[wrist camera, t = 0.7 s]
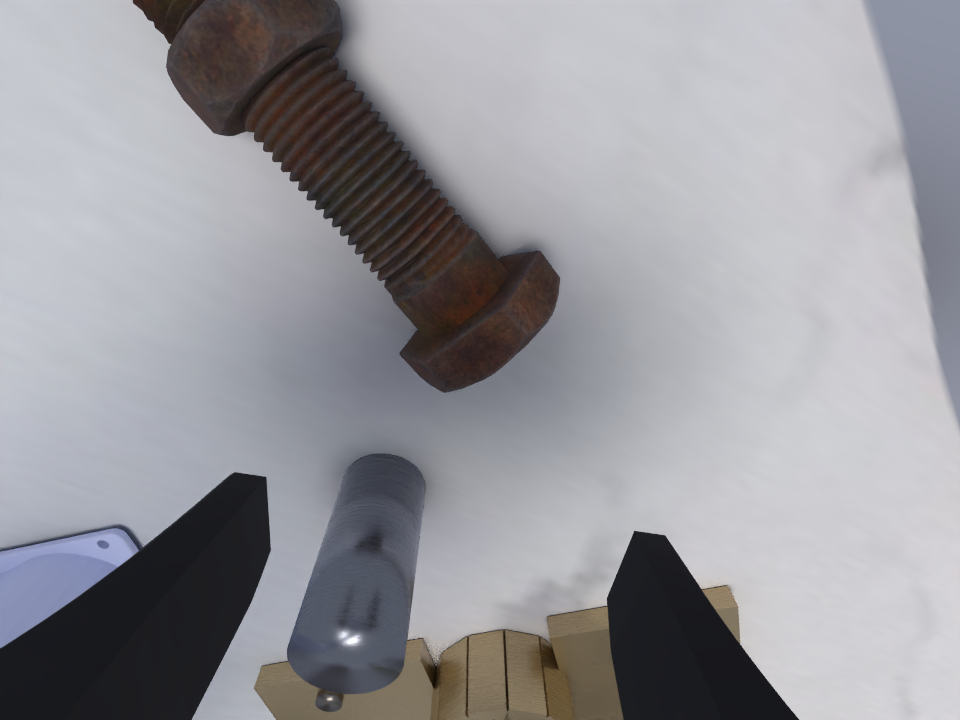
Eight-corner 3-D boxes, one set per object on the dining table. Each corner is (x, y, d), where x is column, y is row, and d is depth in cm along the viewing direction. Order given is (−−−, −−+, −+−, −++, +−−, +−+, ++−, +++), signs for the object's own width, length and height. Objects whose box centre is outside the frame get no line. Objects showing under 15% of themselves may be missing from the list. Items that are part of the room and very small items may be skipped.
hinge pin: (359, 524, 25) (313, 701, 18) (330, 463, 24) (267, 630, 17) (435, 509, 25) (419, 684, 18) (411, 446, 23) (382, 610, 16)
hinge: (317, 747, 33) (298, 828, 30) (261, 666, 30) (232, 746, 26) (734, 683, 31) (768, 763, 27) (727, 585, 27) (765, 662, 24)
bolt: (210, -90, 17) (508, 289, 22) (67, 3, 16) (416, 379, 21) (190, -274, 11) (593, 287, 16) (-29, -149, 10) (474, 408, 15)
